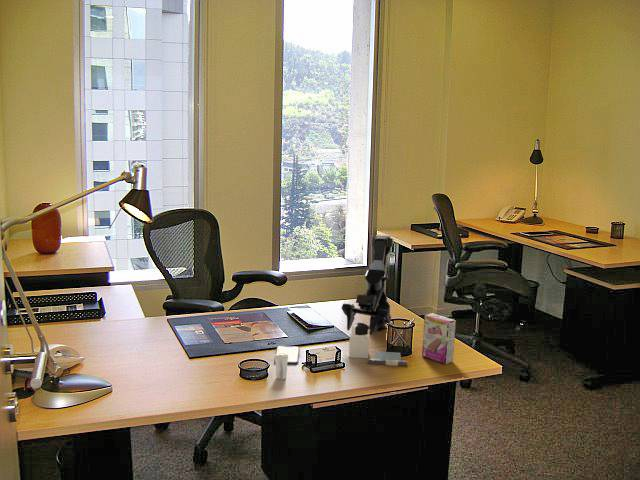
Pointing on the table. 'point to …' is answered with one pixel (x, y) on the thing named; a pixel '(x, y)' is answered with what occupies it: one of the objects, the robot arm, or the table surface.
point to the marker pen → (387, 362)
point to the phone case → (290, 354)
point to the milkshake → (281, 364)
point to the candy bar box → (438, 338)
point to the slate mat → (387, 355)
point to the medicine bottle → (359, 341)
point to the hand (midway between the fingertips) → (358, 332)
